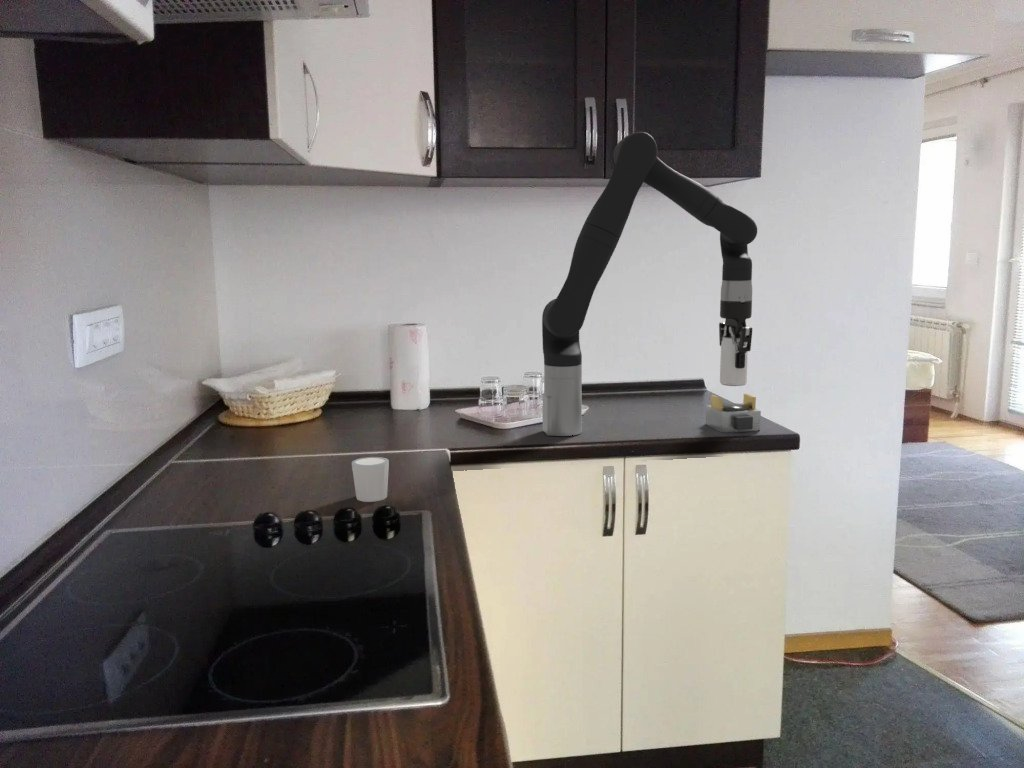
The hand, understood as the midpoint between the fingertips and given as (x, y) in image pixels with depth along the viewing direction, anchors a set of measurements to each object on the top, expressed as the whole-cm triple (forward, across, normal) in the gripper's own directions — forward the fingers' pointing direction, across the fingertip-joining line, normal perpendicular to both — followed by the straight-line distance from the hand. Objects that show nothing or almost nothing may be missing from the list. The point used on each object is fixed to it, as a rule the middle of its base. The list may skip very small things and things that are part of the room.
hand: (733, 365), depth 200 cm
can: (+5, 0, 0) cm, 5 cm away
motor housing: (+16, 0, 0) cm, 16 cm away
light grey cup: (+16, +39, -90) cm, 99 cm away
